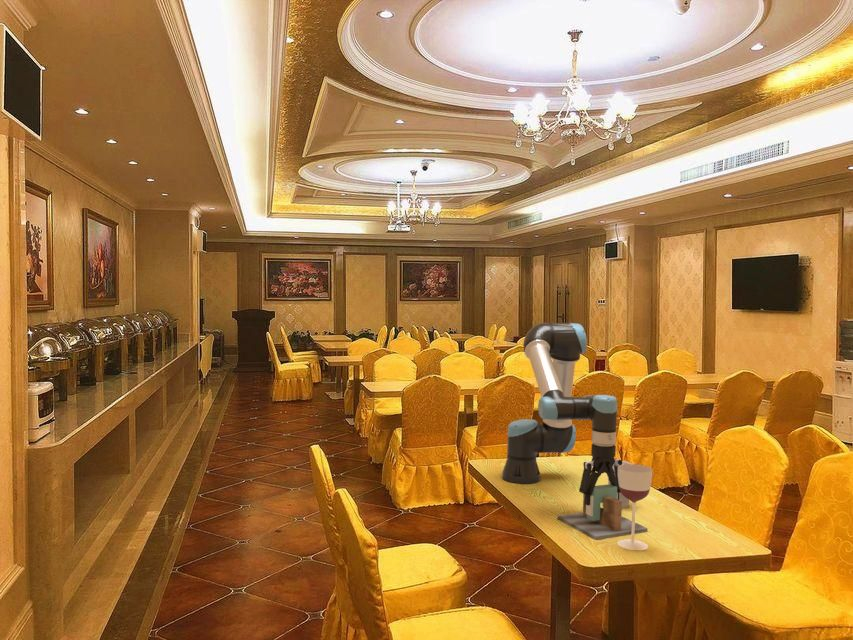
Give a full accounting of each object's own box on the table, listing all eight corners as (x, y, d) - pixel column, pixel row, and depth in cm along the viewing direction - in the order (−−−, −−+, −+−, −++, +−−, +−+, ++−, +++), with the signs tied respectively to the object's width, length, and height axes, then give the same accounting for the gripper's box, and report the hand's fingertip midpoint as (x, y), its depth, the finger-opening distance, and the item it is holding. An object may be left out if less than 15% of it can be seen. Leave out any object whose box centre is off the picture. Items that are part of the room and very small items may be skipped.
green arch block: (586, 517, 211) (587, 486, 210) (609, 514, 214) (610, 484, 214) (593, 520, 208) (594, 489, 207) (616, 517, 211) (617, 486, 211)
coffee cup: (634, 510, 226) (636, 467, 225) (606, 508, 228) (607, 465, 227) (631, 502, 235) (633, 461, 235) (604, 500, 237) (605, 459, 237)
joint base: (557, 518, 216) (558, 488, 216) (606, 511, 224) (606, 482, 224) (595, 539, 198) (596, 507, 197) (647, 531, 206) (648, 500, 205)
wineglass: (610, 539, 199) (612, 464, 198) (642, 538, 200) (644, 464, 199) (622, 550, 190) (624, 472, 189) (655, 550, 191) (658, 472, 190)
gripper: (583, 449, 202) (581, 520, 203) (638, 443, 211) (636, 512, 212) (568, 443, 209) (566, 513, 210) (622, 438, 218) (620, 505, 219)
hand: (601, 512), depth 211 cm, fingers closed on green arch block, 9 cm apart
